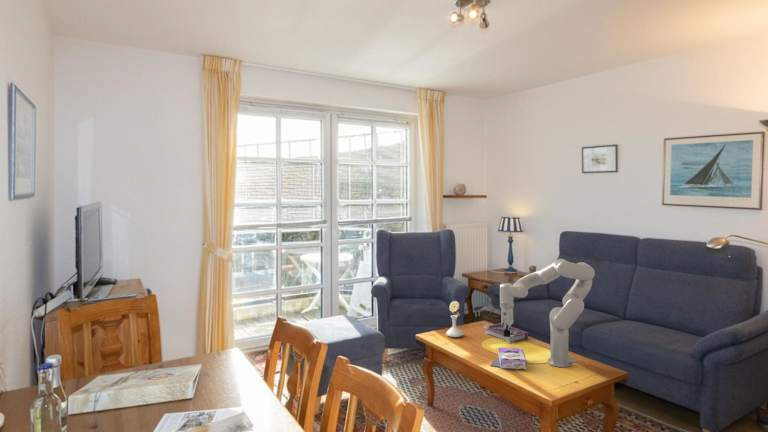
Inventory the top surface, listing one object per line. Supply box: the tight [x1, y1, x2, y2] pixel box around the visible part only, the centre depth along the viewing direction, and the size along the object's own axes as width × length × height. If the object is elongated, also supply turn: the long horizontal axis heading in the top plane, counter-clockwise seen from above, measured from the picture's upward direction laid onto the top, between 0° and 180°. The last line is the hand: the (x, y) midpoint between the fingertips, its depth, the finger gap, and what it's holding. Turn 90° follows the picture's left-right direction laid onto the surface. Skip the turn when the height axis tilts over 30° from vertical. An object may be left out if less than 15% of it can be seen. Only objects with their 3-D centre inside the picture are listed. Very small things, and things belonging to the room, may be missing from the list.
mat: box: [489, 357, 517, 371], centre depth 251 cm, size 14×12×1 cm
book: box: [483, 322, 529, 344], centre depth 299 cm, size 25×16×5 cm, turn 27°
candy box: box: [497, 347, 527, 370], centre depth 251 cm, size 14×6×16 cm
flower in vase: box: [445, 300, 464, 338], centre depth 301 cm, size 13×11×25 cm
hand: (507, 336), depth 255 cm, fingers closed
